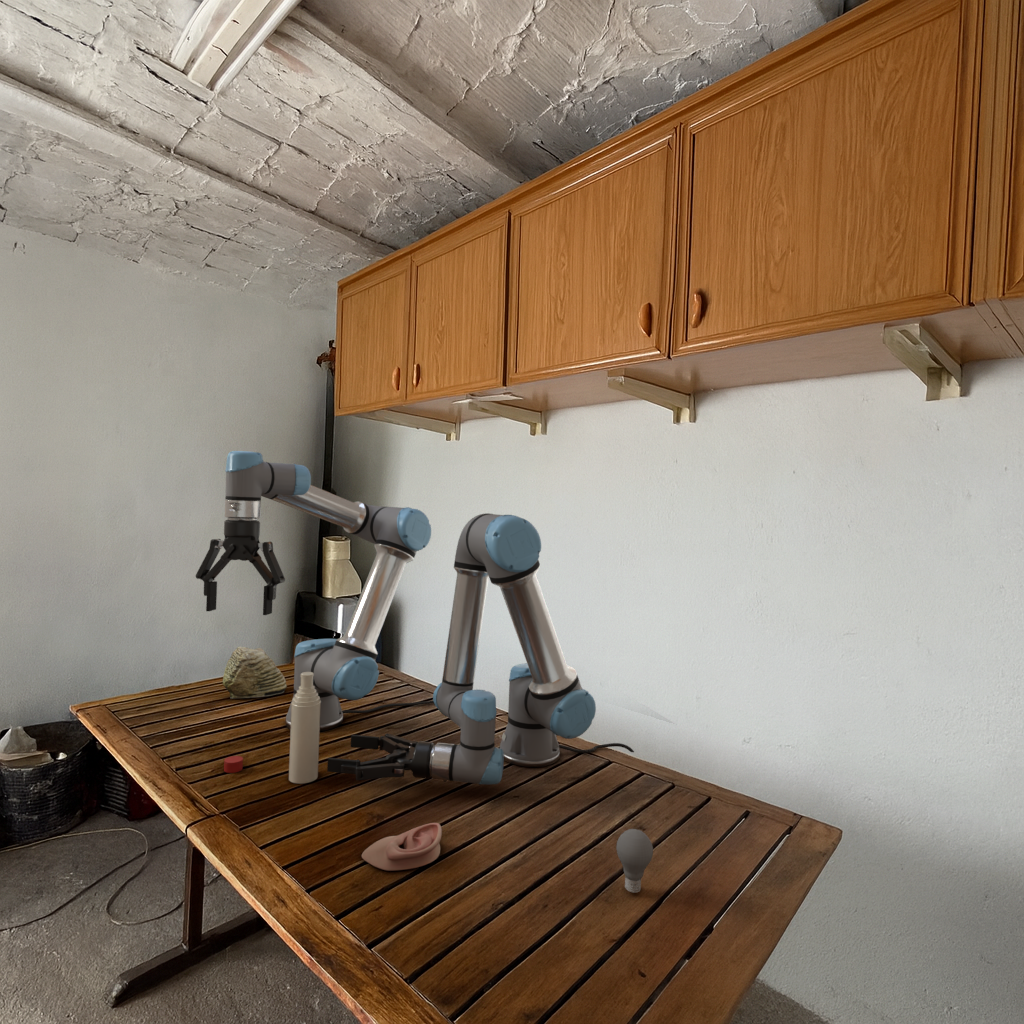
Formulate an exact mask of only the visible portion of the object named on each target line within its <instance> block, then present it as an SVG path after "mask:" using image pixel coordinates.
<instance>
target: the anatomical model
mask: <svg viewBox="0 0 1024 1024" xmlns="http://www.w3.org/2000/svg"><path fill="white" fill-rule="evenodd" d="M442 835H443V829H442V826H441V824H440V823H439V822H430V823H425V824H422V825H419V826H417V827H414V828H412V829H410V830H407V831H404V832H402V833H399V834H397V835H389V836H385V837H383V838H381V839H379V840H377V841H375V842H373V843H372V844H370V845H369V846H368V847H367V848H366V849H364V851H362V852H361V853H362V854H361V858H362V859H363V861H365V862H366V863H368V864H370V865H371V866H373V867H375V868H377V869H379V870H384V871H387V872H389V871H390V872H391V871H403V870H412V869H416V868H419V867H423V866H426V865H428V864H431V863H433V862H434V861H435V860H437V859H439V856H440V855H441V844H440V842H441V839H442Z"/></svg>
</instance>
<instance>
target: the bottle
mask: <svg viewBox="0 0 1024 1024" xmlns="http://www.w3.org/2000/svg"><path fill="white" fill-rule="evenodd" d="M313 676H314V673H313V672H303V673H301V676H300V677H301V686H300V687H299V690H297V693H296V694H295V697H294V698H293V697H292V699H293V700H292V699H291V702H292V703H291V702H290V704H291V727H290V729H289V730H290V732H289V757H288V759H289V760H288V781H289V782H290V783H293V784H297V785H298V784H308V783H312V782H314V781H316V780H317V779H318V777H319V759H320V758H319V757H320V754H319V753H320V735H321V734H320V732H321V731H320V709H321V701H320V697H319V696H318V693H317V692H316V689H315V686H313Z"/></svg>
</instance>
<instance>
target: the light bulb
mask: <svg viewBox="0 0 1024 1024" xmlns="http://www.w3.org/2000/svg"><path fill="white" fill-rule="evenodd" d="M615 849H616V854H617V857H618V859H619V861H620V863H621V865H622V867H623V873H624V874H623V875H624V876H625V878H624V888H625V890H627V891H628V892H630V893H634V894H635V893H639V892H640V891H641V889H642V887H641V886H642V879H643V877H644V875H645V871H646V868H647V867H648V866H649V864H650V863H651V861H652V859H653V855H654V847H653V843H652V841H651V838H649V836H648V835H647V834H646V833H645V832H643V831H642V830H641V829H636V828H629V829H627V830H625V831H623V832H622V833H621V834H620V835H619V837H618V839H617V841H616V847H615Z"/></svg>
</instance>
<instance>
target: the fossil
mask: <svg viewBox="0 0 1024 1024" xmlns="http://www.w3.org/2000/svg"><path fill="white" fill-rule="evenodd" d="M222 676H223V677H222V685H223V687H224V688H225V690H226V691H228V693H229V698H230V699H250V698H264V697H271V696H275V695H281V694H284V693H285V691H286V689H287V687H288V686H287V680H286V678H285V676H284V674H283V673H282V672H281V669H279V668H278V667H277V665H276V663H275V662H274V660H273V659H272V658H271V657H270V656H269V655H268V654H267V653H266V652H265V650H264V649H263V648H260V647H258V648H251V647H247V646H246V647H245V646H238V647H237V648H236V649H235V650H233V651H232V653H231V656H230V657H229V659H228V660H227V663H226V666H225V668H224V671H223V675H222Z"/></svg>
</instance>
